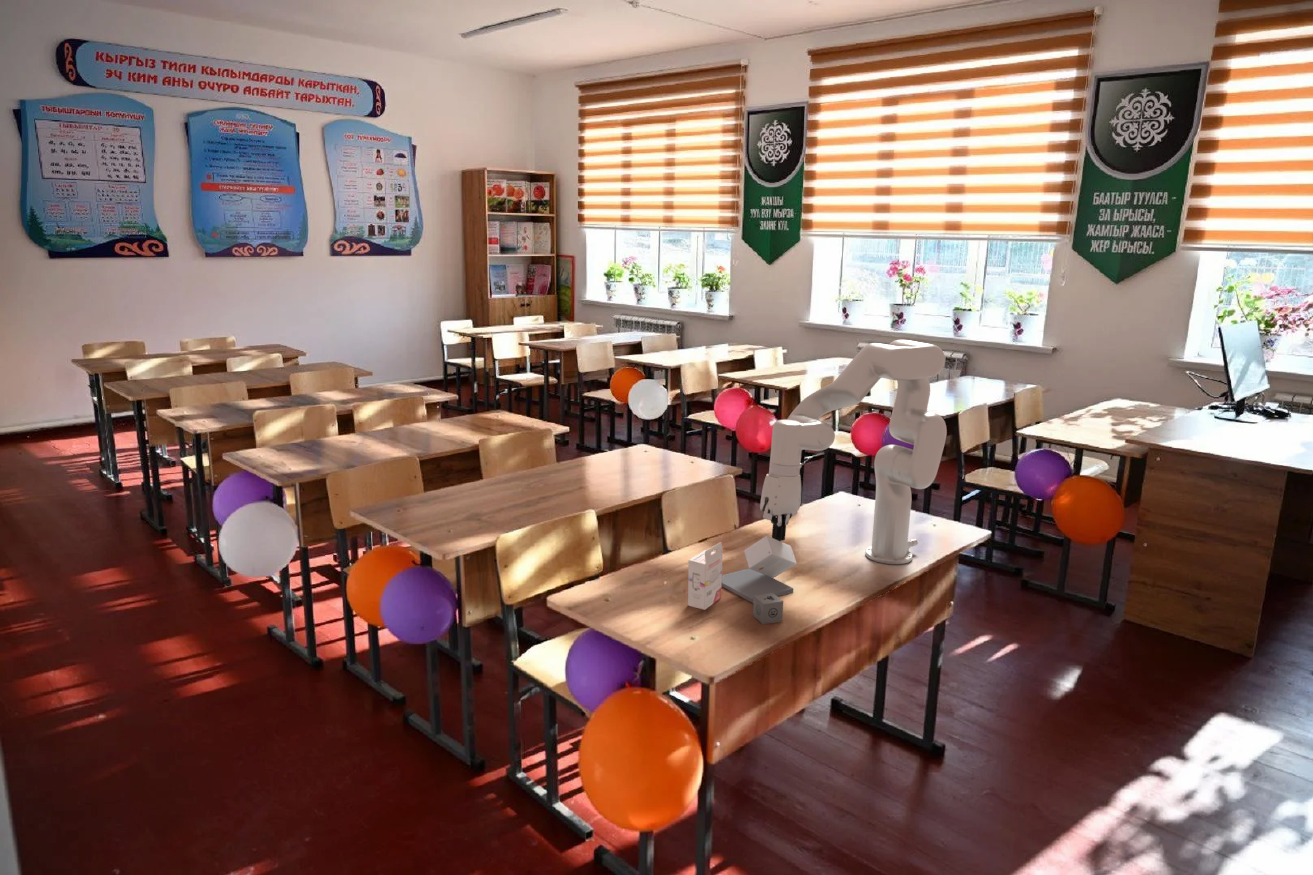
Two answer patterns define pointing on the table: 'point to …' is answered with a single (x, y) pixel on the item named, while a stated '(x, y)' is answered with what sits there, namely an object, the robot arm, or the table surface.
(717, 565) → the ink cartridge box
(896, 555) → the robot arm
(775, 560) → the small box
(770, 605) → the dice cube
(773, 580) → the mat
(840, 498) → the table surface
